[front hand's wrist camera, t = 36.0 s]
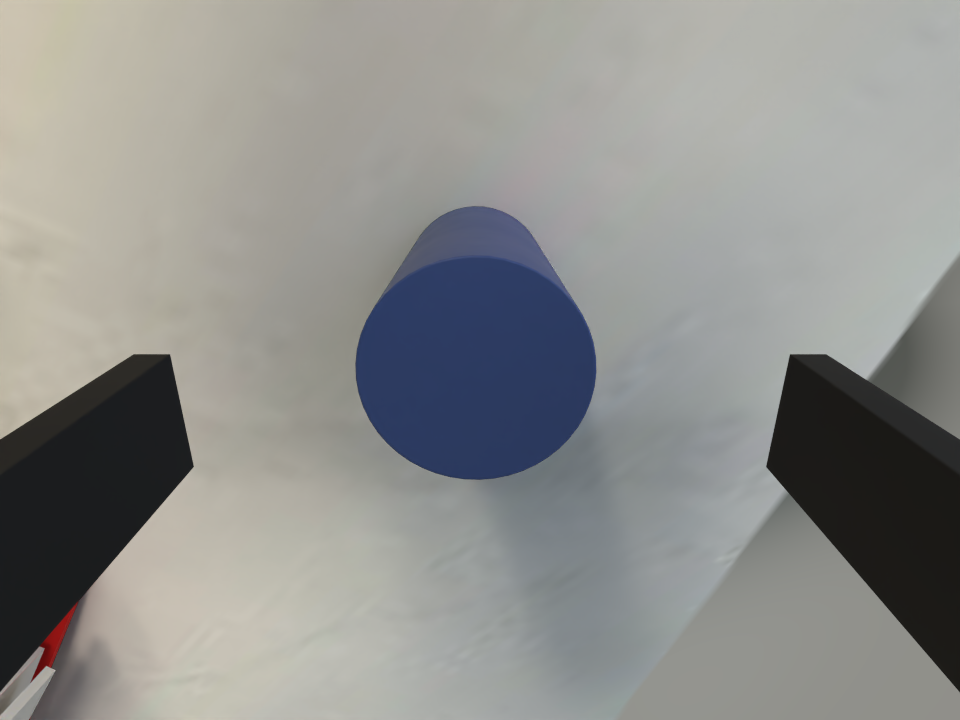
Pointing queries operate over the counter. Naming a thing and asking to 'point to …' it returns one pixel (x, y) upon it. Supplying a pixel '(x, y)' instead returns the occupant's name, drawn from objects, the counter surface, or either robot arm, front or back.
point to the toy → (32, 677)
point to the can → (475, 351)
